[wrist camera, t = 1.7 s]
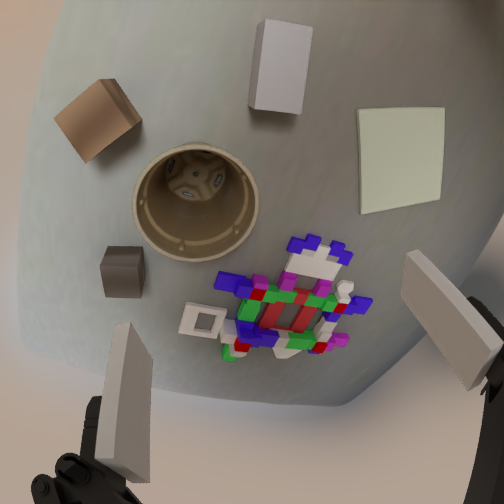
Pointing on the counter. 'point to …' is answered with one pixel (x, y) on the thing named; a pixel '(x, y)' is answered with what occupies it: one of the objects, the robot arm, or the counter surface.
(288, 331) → the building block set
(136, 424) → the robot arm
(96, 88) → the walnut block
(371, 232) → the counter surface
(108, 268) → the dark block
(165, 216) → the flower pot
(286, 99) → the grey block
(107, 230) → the counter surface
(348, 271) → the counter surface
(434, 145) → the coaster
